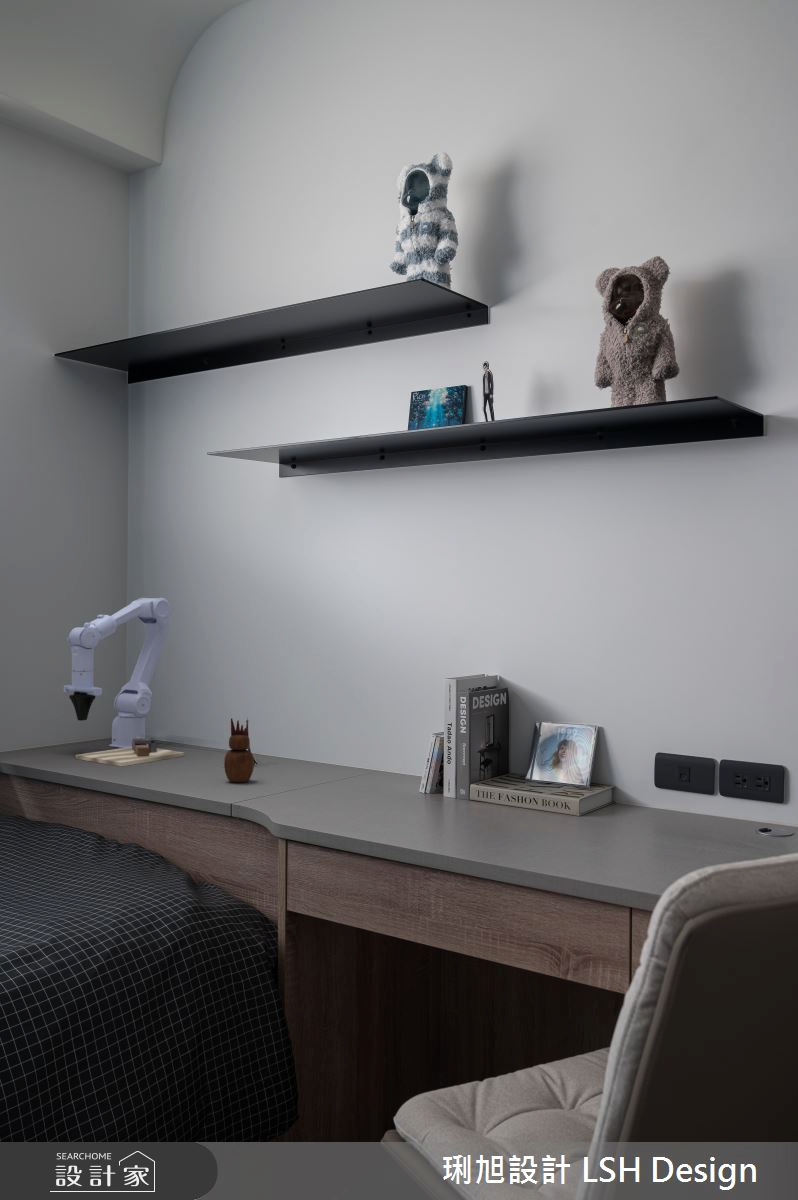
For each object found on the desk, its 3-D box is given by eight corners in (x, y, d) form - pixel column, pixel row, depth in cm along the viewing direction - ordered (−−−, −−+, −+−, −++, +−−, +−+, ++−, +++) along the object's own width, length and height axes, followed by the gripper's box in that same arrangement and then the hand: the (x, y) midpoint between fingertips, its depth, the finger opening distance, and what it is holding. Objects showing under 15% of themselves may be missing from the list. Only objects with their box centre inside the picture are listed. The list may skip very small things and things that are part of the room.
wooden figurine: (220, 782, 226) (220, 719, 226) (231, 778, 232) (232, 716, 232) (246, 784, 224) (247, 720, 224) (257, 780, 230) (257, 717, 230)
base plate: (75, 758, 258) (75, 754, 258) (139, 749, 275) (139, 745, 275) (121, 766, 247) (121, 762, 247) (184, 756, 264) (184, 752, 264)
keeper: (131, 751, 265) (132, 739, 265) (154, 750, 267) (154, 738, 267) (134, 753, 261) (134, 741, 261) (156, 752, 264) (156, 740, 264)
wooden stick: (131, 747, 271) (131, 736, 271) (143, 746, 272) (143, 736, 272) (137, 755, 256) (137, 744, 256) (149, 755, 257) (149, 744, 257)
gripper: (54, 670, 267) (53, 719, 267) (86, 673, 258) (86, 723, 258) (76, 668, 272) (75, 716, 272) (108, 671, 264) (108, 721, 264)
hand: (82, 720), depth 266 cm, fingers closed
